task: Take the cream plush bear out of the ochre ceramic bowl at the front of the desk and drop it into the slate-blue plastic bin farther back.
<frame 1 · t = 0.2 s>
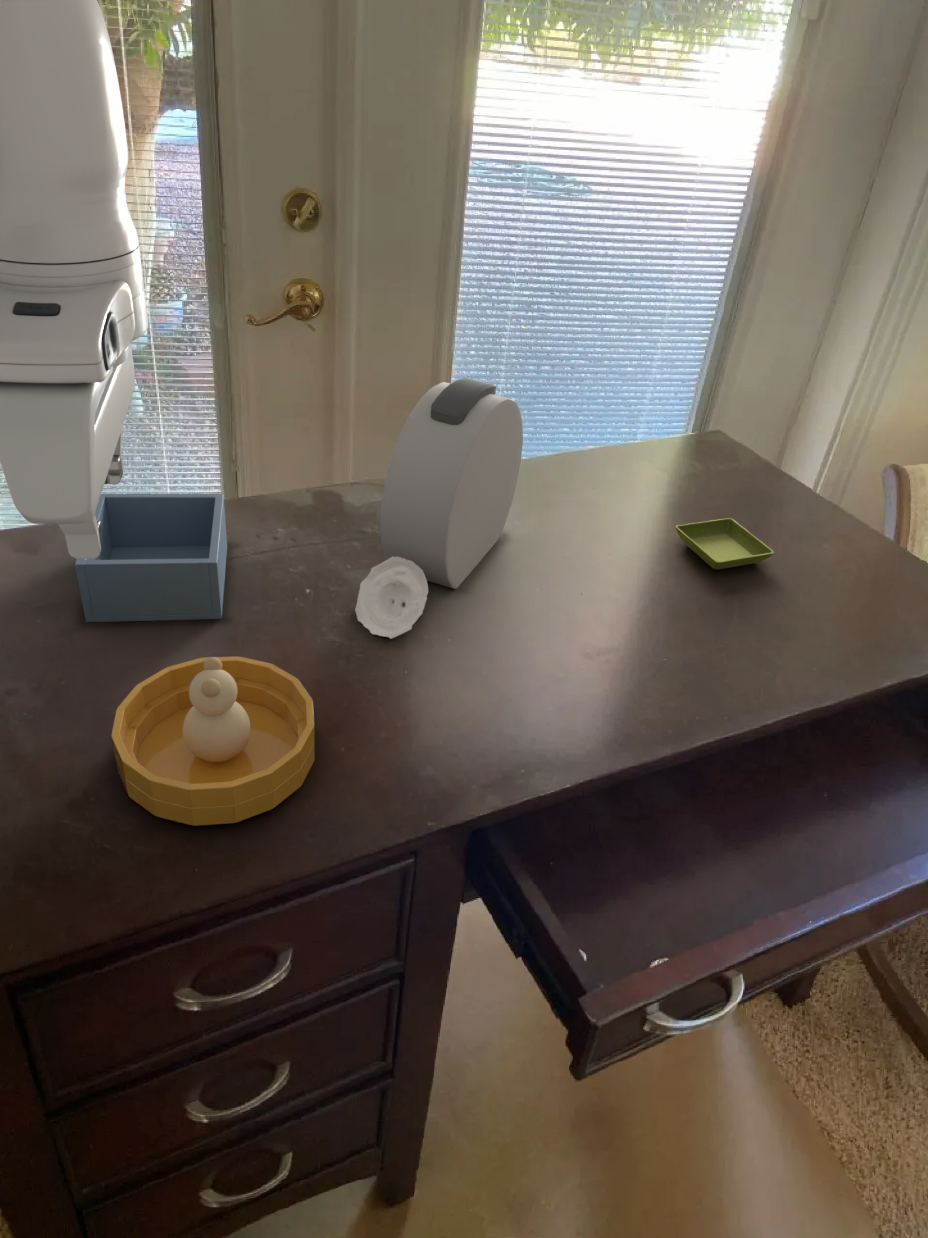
hand: (99, 513, 58), 23 cm above the table, tool pointing down, fingers open, 8 cm apart
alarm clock: (449, 554, 102), on the table
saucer: (719, 555, 107), on the table
bin: (161, 581, 92), on the table
bowl: (219, 757, 72), on the table
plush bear: (219, 752, 72), point 1 cm above the table, touching bowl
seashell: (391, 623, 90), on the table
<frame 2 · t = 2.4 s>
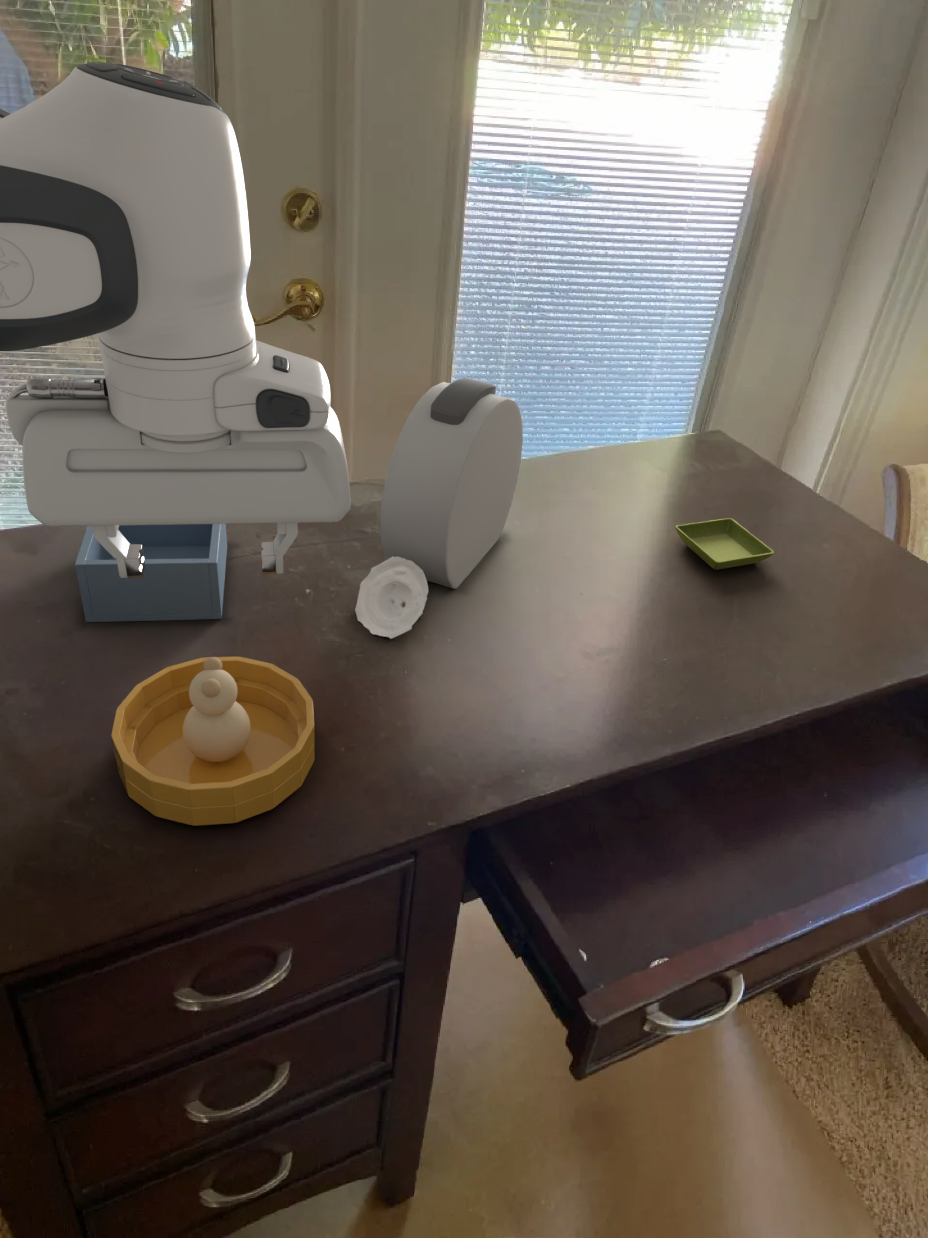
hand: (204, 571, 62), 18 cm above the table, tool pointing down, fingers open, 8 cm apart
nothing on the table moved.
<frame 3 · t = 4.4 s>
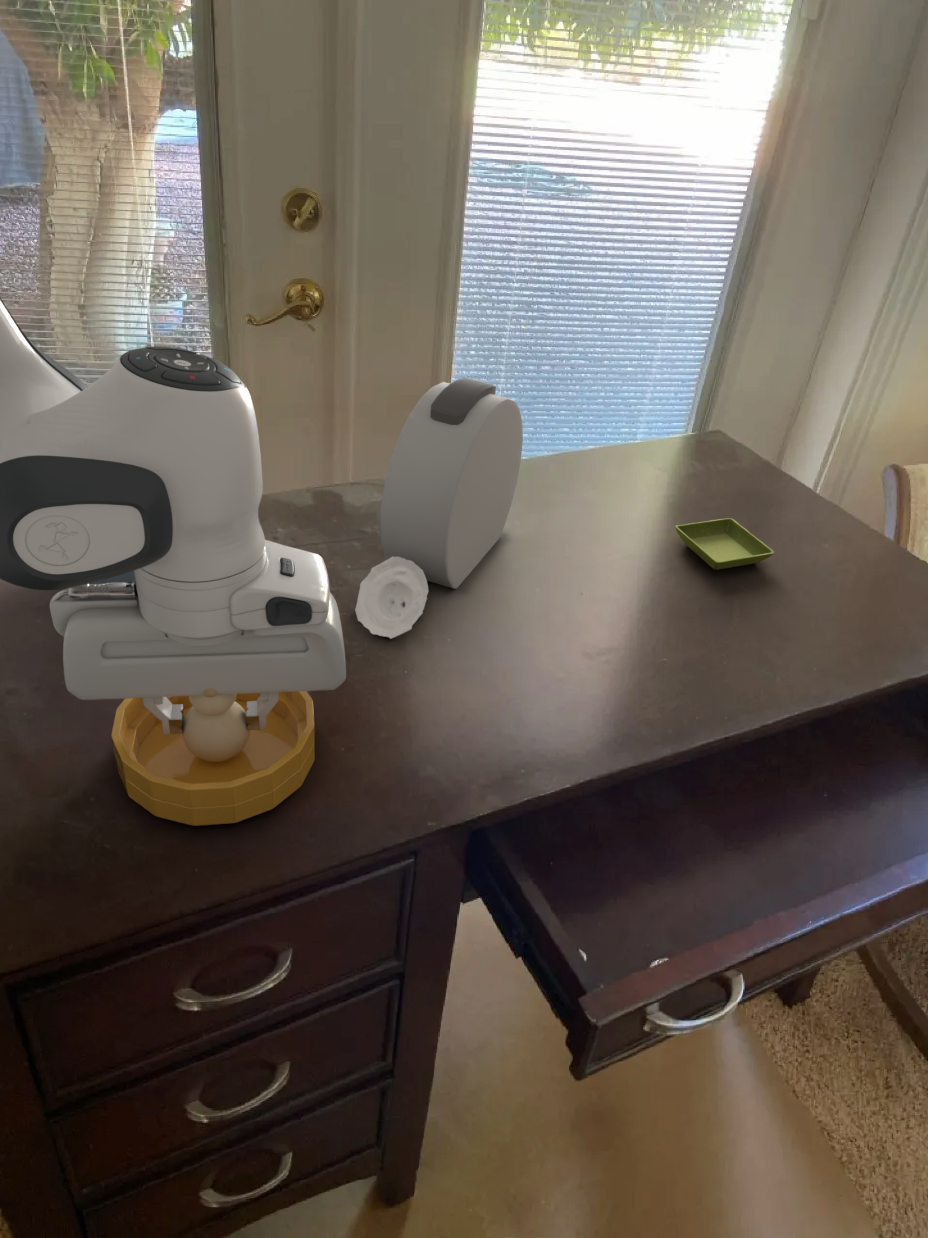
hand: (216, 727, 70), 3 cm above the table, tool pointing down, fingers closed on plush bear, 5 cm apart
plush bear: (218, 752, 72), point 1 cm above the table, touching bowl, gripper
everything else where it was.
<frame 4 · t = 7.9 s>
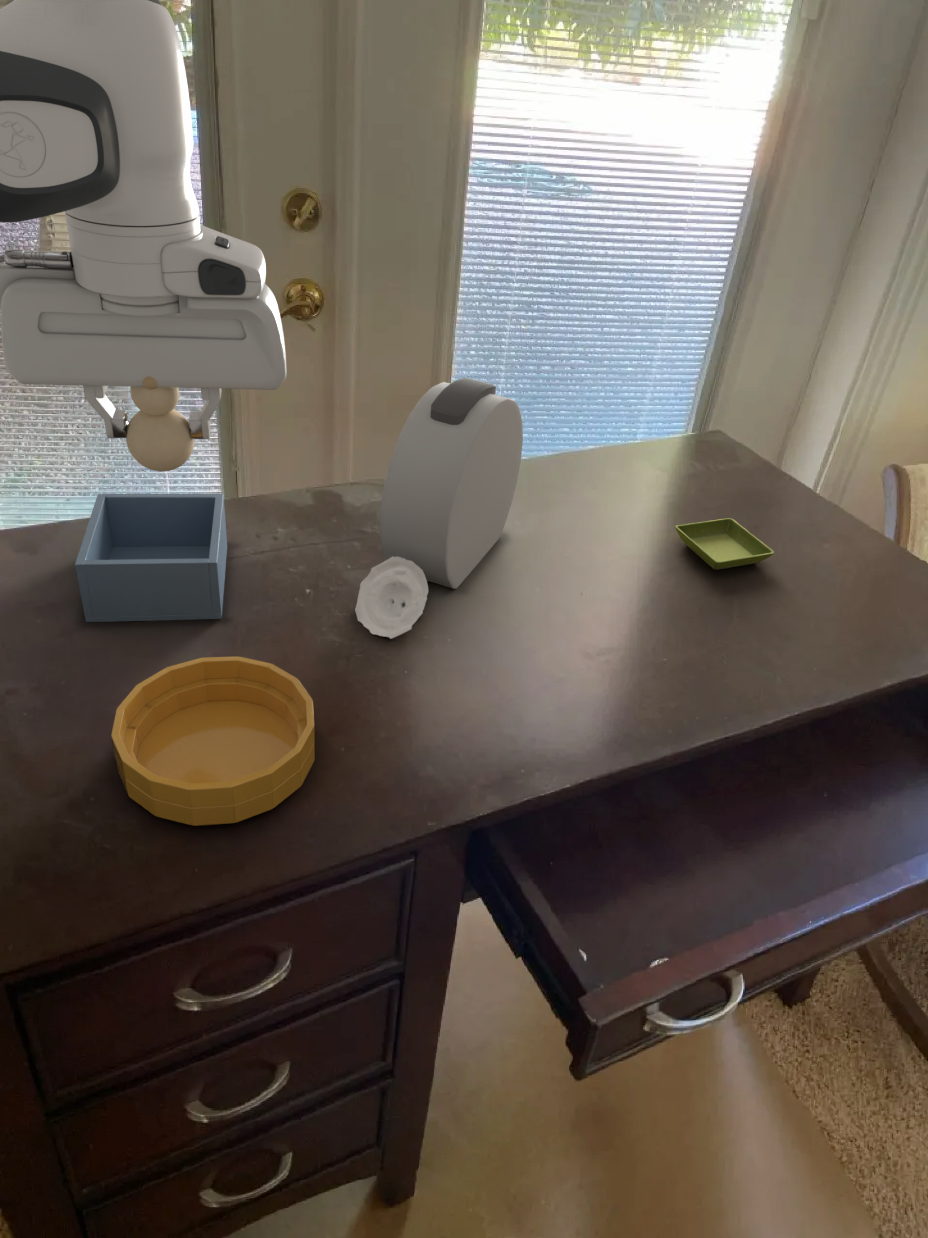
hand: (160, 435, 71), 21 cm above the table, tool pointing down, fingers closed on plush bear, 5 cm apart
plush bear: (164, 467, 73), point 19 cm above the table, touching gripper
everything else where it was.
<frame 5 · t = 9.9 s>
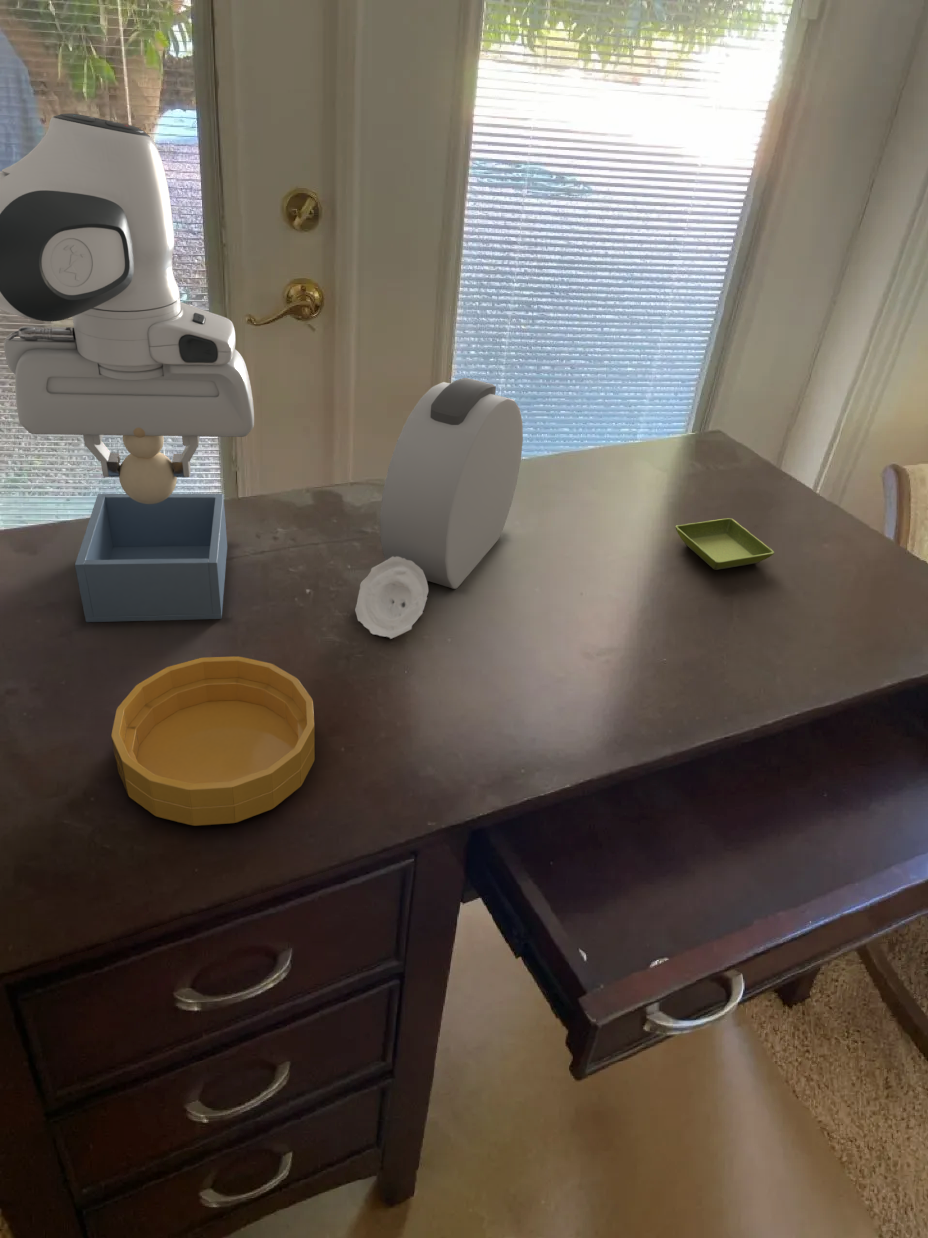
hand: (148, 474, 84), 12 cm above the table, tool pointing down, fingers closed on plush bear, 5 cm apart
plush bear: (151, 500, 86), point 9 cm above the table, touching gripper
everything else where it was.
when the fingers open (8 cm above the table, at t = 11.6 s): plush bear drops 5 cm, resting on bin.
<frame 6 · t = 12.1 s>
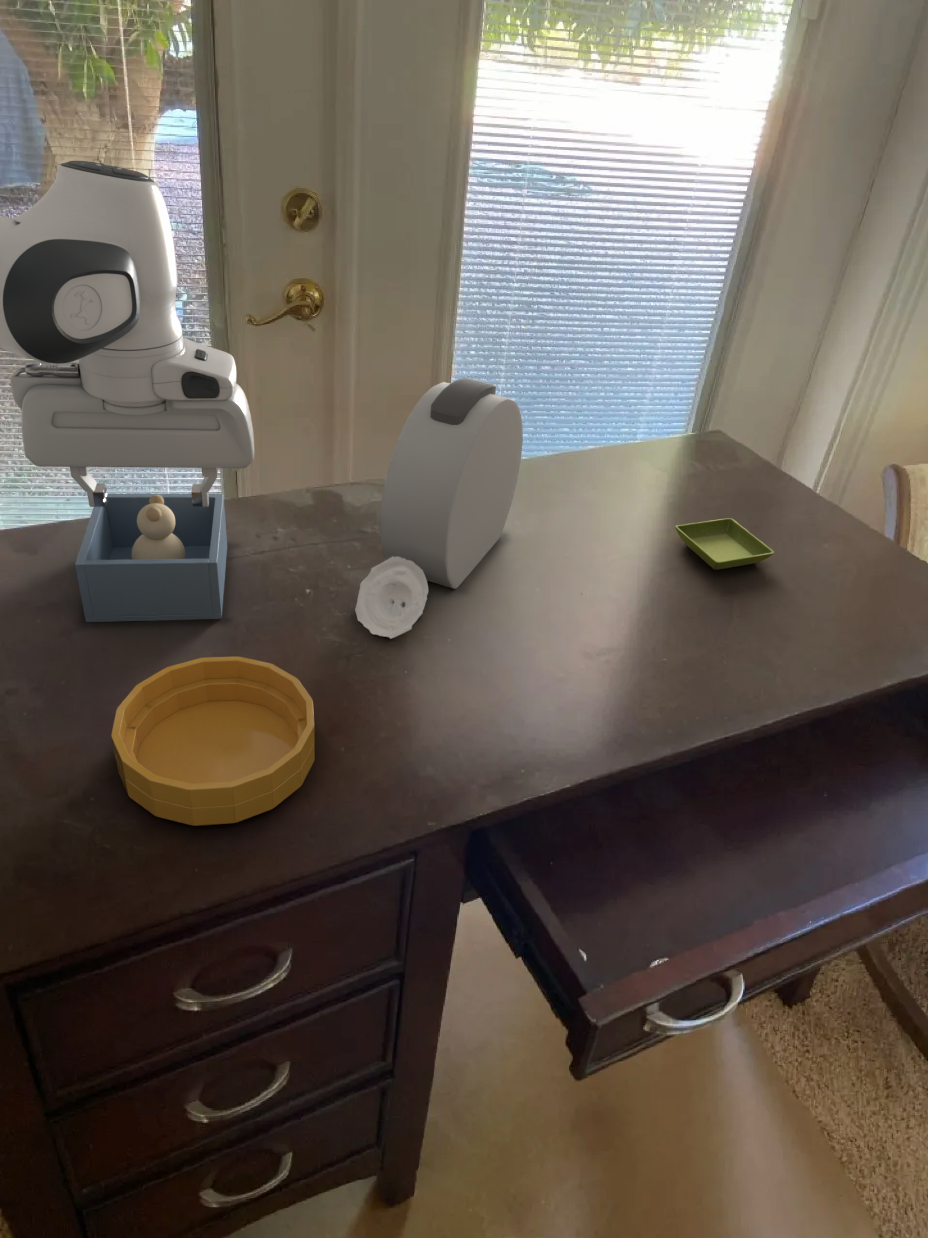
hand: (150, 504, 86), 9 cm above the table, tool pointing down, fingers open, 8 cm apart
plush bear: (160, 577, 91), point 1 cm above the table, touching bin
everything else where it was.
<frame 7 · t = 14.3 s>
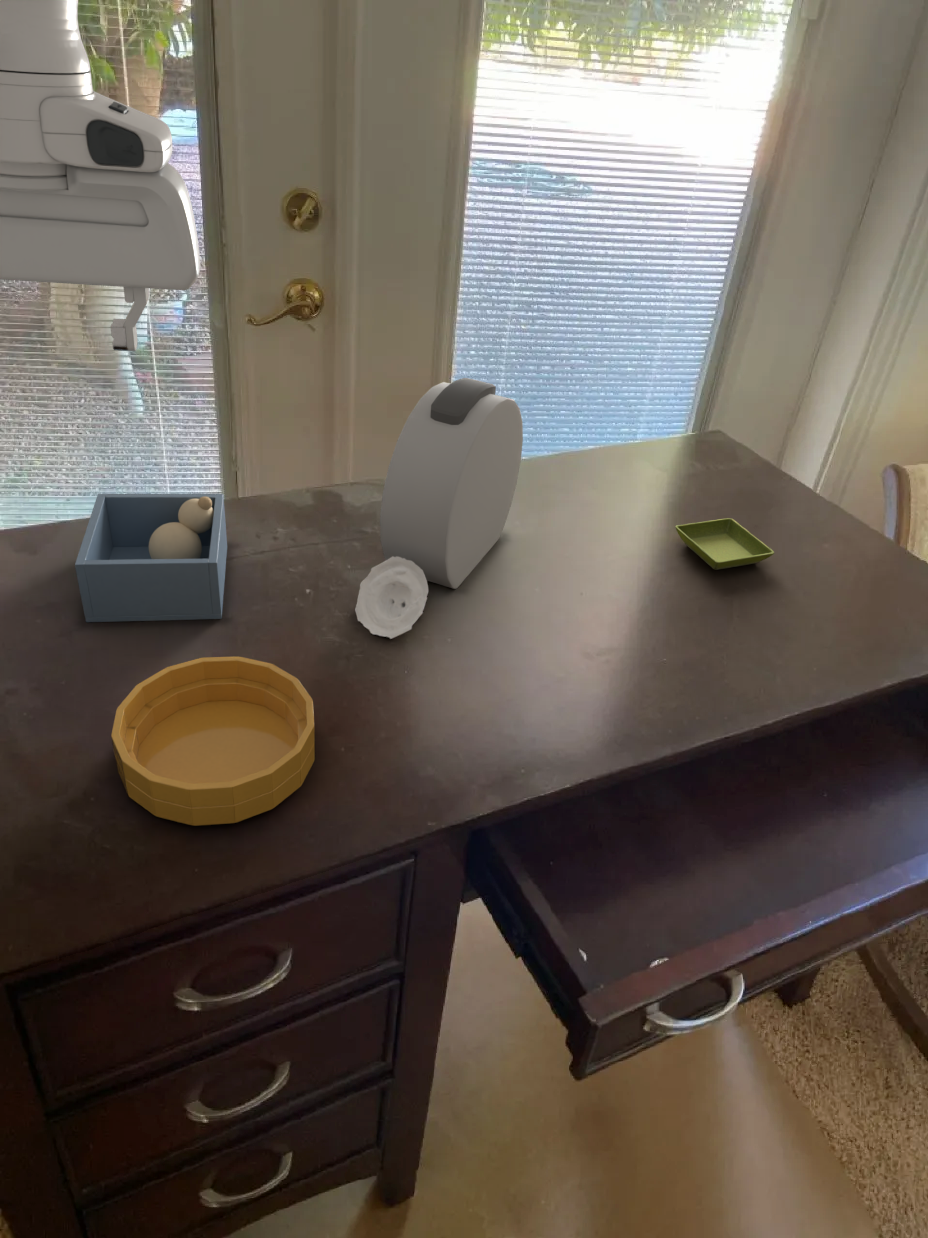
hand: (54, 344, 62), 30 cm above the table, tool pointing down, fingers open, 8 cm apart
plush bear: (161, 568, 91), point 1 cm above the table, tilted 49°, touching bin
everything else where it was.
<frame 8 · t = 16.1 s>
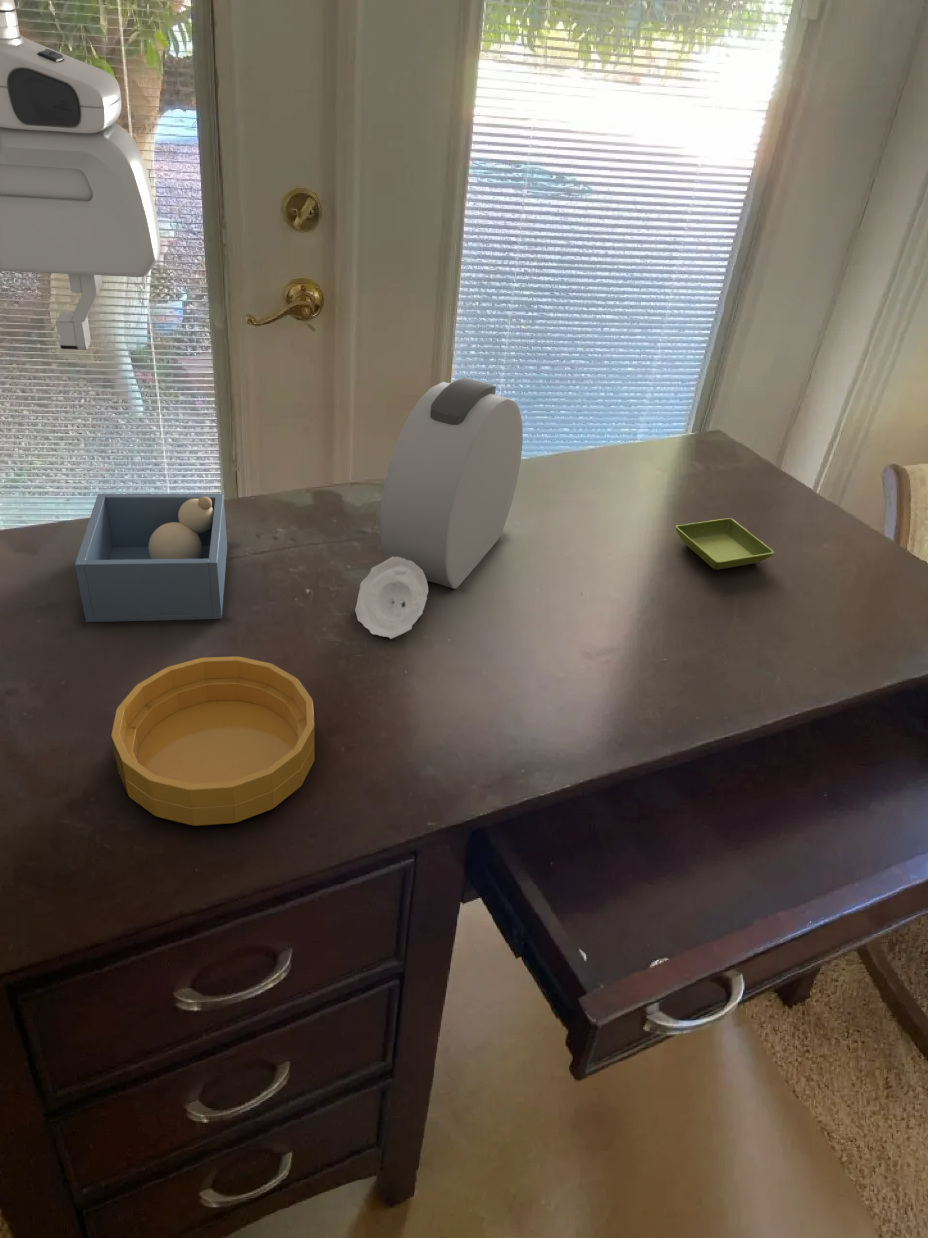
nothing on the table moved.
at the end: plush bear inside the target area in the bin (0.2 cm from its centre), point 1.5 cm above the bin's base; the gripper is holding nothing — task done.
